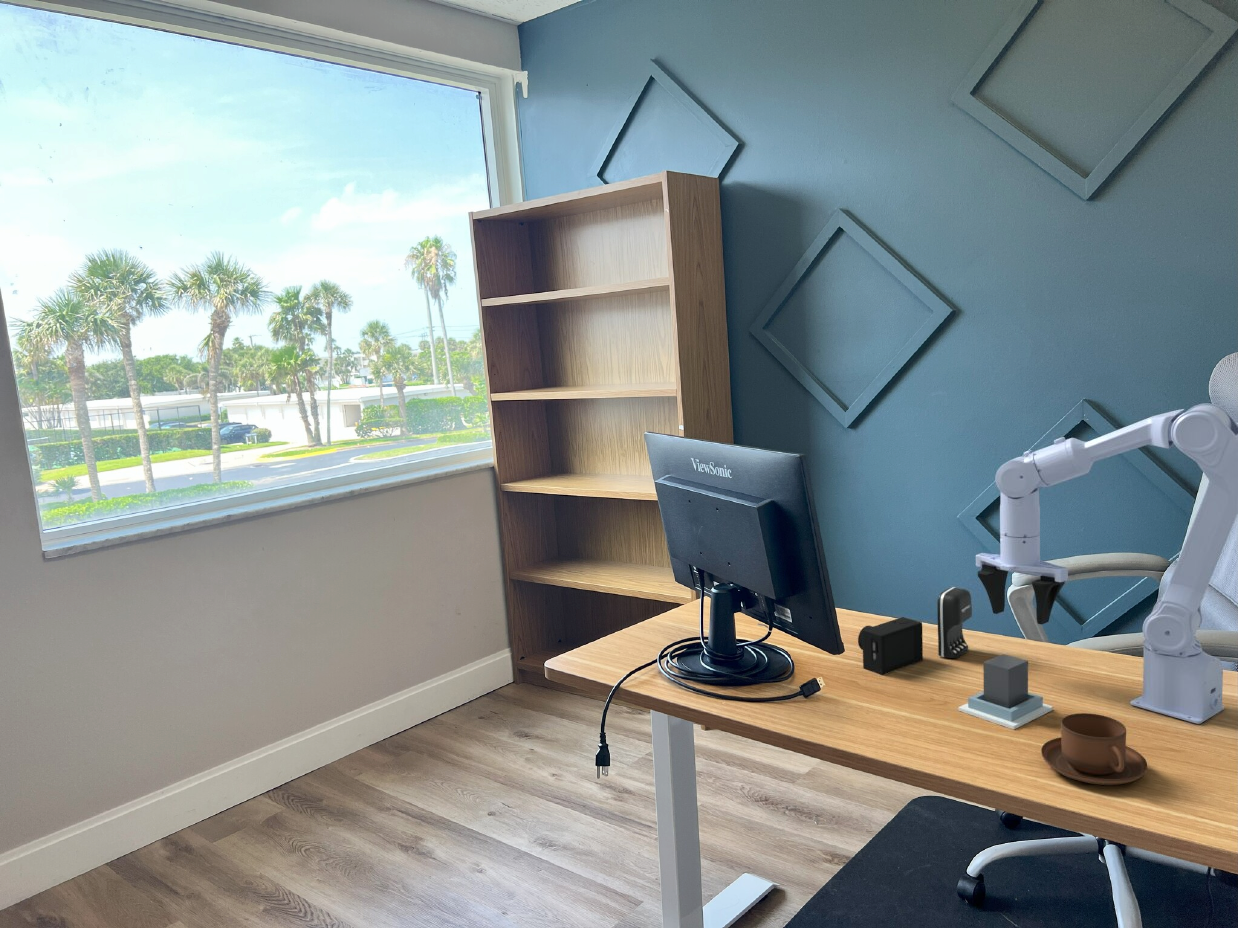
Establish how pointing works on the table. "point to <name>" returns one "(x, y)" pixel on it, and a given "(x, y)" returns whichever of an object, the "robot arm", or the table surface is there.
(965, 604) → the battery charger
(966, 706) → the socket dock
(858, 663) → the table surface
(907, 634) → the digital camera
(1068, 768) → the cup and saucer
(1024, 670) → the plug
